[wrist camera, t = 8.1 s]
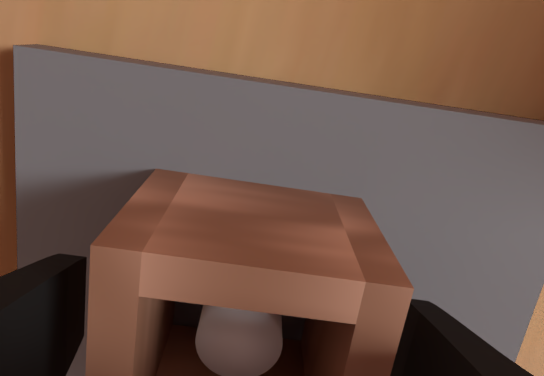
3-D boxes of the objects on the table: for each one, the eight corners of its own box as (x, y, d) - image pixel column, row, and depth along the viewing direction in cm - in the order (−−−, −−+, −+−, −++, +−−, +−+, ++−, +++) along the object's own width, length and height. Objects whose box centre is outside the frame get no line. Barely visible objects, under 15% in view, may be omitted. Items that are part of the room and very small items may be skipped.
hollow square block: (361, 197, 12) (414, 288, 8) (323, 367, 13) (349, 522, 9) (156, 168, 12) (90, 245, 7) (141, 345, 13) (80, 493, 9)
